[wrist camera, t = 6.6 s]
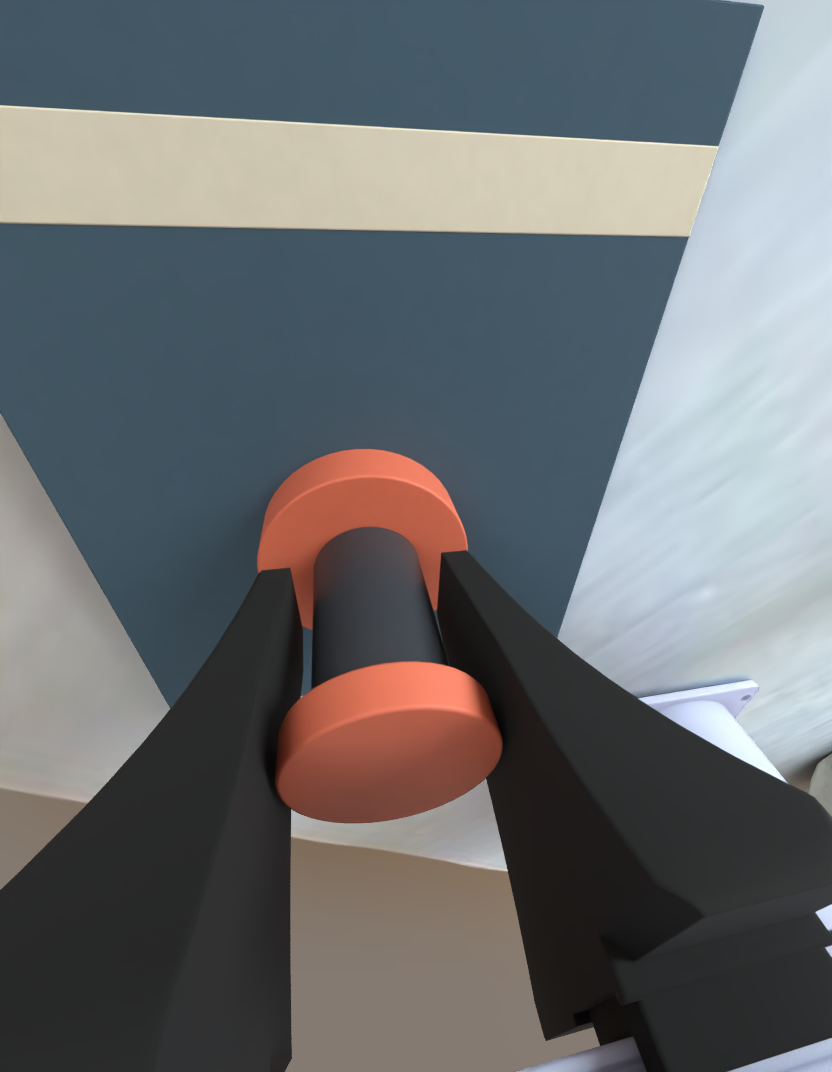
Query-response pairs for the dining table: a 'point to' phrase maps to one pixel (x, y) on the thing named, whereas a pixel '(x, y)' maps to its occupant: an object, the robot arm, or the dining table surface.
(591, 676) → the robot arm
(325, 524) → the orange thread spool
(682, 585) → the dining table surface
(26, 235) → the tea towel
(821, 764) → the decorative stone
